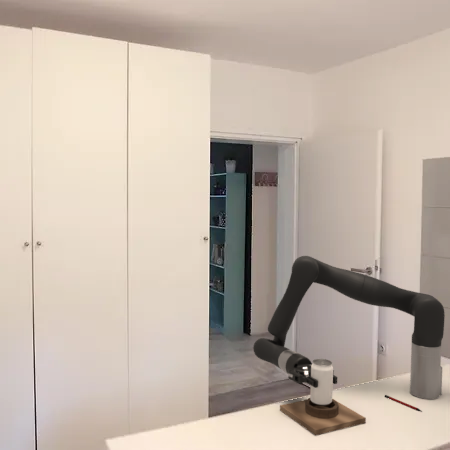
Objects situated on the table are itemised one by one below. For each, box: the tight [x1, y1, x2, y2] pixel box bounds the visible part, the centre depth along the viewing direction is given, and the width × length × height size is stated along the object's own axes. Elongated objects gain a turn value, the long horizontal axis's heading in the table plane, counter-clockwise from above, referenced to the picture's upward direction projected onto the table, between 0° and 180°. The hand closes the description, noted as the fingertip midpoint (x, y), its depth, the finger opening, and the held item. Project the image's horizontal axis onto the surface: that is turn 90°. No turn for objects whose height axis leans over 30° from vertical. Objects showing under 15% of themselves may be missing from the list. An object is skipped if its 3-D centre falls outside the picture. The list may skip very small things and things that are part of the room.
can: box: [309, 358, 334, 405], centre depth 148 cm, size 6×6×12 cm
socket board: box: [279, 397, 367, 436], centre depth 148 cm, size 18×18×4 cm
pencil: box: [384, 394, 423, 412], centre depth 158 cm, size 1×14×1 cm, turn 34°
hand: (326, 382), depth 146 cm, fingers closed on can, 6 cm apart
